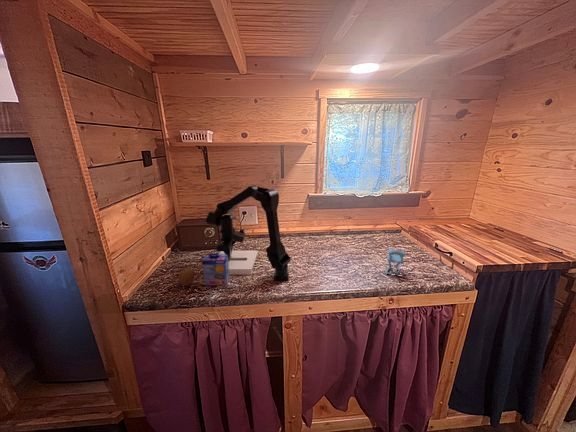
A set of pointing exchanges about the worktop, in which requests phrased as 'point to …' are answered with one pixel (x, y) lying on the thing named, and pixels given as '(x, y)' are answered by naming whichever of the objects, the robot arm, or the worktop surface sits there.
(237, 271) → the keyhole board
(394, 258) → the chair
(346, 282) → the worktop surface
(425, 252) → the worktop surface
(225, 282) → the ink cartridge box
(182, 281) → the fruit
